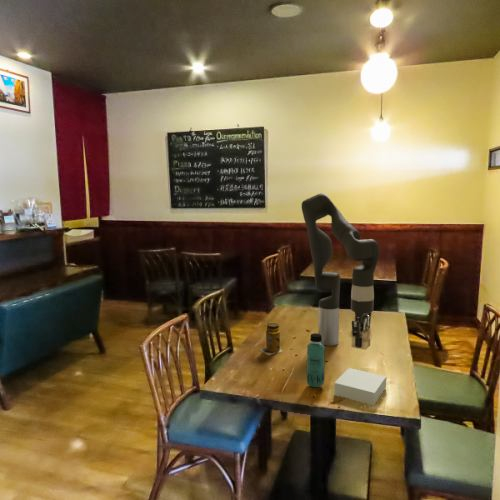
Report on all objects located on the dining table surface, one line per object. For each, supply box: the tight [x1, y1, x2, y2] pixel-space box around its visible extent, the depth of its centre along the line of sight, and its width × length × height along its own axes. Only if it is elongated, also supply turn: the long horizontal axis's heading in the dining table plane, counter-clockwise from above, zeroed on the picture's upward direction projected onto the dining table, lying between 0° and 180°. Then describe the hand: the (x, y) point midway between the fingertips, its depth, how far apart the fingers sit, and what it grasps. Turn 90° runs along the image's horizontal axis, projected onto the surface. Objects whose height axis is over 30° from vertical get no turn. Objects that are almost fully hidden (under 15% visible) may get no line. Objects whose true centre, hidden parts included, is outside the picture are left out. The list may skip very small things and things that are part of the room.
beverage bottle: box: [306, 332, 326, 388], centre depth 152 cm, size 6×7×20 cm
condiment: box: [259, 322, 284, 356], centre depth 187 cm, size 7×8×12 cm
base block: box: [334, 367, 387, 406], centre depth 149 cm, size 14×14×5 cm
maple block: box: [351, 327, 372, 351], centre depth 147 cm, size 5×5×6 cm
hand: (361, 344), depth 147 cm, fingers closed on maple block, 5 cm apart
